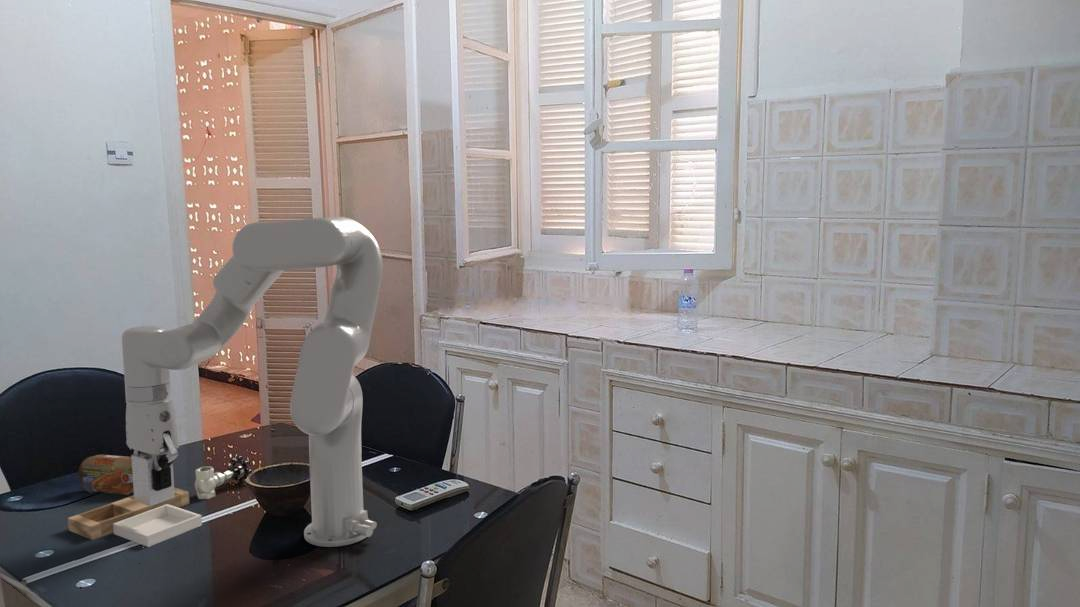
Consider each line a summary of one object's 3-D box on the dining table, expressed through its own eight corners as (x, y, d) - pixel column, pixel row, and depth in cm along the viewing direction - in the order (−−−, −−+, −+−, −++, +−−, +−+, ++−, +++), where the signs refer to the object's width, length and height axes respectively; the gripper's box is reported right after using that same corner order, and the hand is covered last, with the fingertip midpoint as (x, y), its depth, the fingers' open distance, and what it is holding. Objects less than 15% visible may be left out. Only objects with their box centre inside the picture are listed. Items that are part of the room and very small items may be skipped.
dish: (202, 527, 147) (201, 515, 147) (148, 549, 138) (147, 536, 137) (168, 515, 153) (167, 503, 152) (113, 536, 143) (112, 523, 143)
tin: (78, 492, 165) (75, 455, 164) (90, 487, 168) (87, 451, 167) (136, 498, 162) (133, 460, 161) (147, 493, 165) (144, 456, 164)
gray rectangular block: (174, 497, 145) (172, 452, 144) (150, 506, 141) (147, 459, 140) (159, 492, 148) (156, 447, 147) (134, 500, 143) (131, 455, 142)
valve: (209, 504, 159) (253, 485, 169) (207, 474, 158) (251, 457, 168) (187, 499, 161) (231, 481, 172) (185, 469, 160) (230, 453, 171)
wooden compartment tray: (189, 505, 158) (188, 491, 157) (92, 542, 141) (90, 526, 140) (166, 498, 162) (165, 484, 161) (69, 532, 145) (67, 517, 144)
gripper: (194, 394, 140) (199, 488, 143) (140, 382, 149) (146, 471, 151) (156, 403, 134) (162, 501, 136) (102, 390, 143) (108, 483, 145)
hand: (153, 484), depth 144 cm, fingers closed on gray rectangular block, 5 cm apart
